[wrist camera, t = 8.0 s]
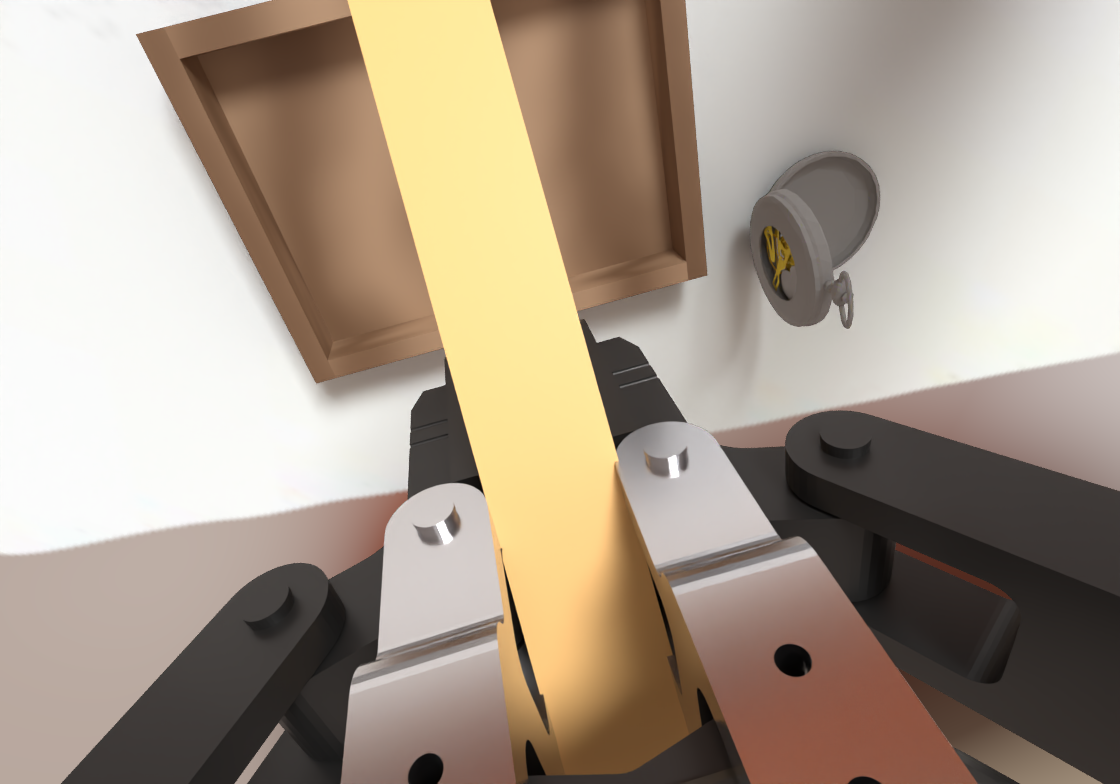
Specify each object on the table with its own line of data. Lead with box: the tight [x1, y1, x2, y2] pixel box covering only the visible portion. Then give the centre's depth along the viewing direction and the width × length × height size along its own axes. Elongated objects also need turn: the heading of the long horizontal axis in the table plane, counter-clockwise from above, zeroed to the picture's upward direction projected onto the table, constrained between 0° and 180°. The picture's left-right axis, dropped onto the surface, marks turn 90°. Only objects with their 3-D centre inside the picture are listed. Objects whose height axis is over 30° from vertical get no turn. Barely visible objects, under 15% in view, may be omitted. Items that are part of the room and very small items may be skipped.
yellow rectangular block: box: [348, 0, 689, 775], centre depth 10 cm, size 2×6×10 cm
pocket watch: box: [750, 151, 880, 329], centre depth 29 cm, size 8×8×10 cm
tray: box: [136, 0, 707, 383], centre depth 27 cm, size 20×15×3 cm
